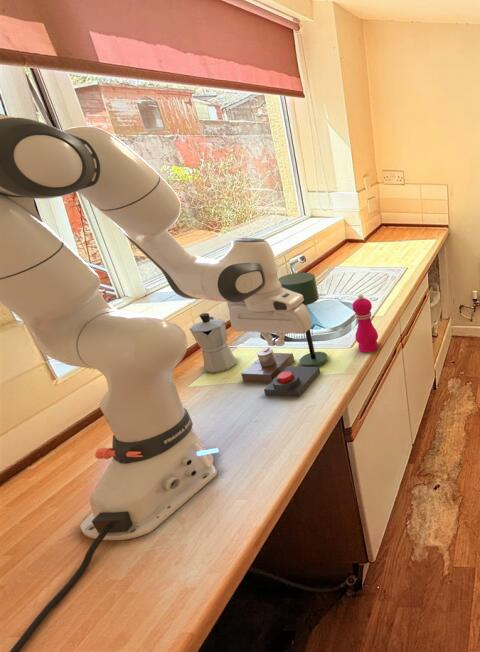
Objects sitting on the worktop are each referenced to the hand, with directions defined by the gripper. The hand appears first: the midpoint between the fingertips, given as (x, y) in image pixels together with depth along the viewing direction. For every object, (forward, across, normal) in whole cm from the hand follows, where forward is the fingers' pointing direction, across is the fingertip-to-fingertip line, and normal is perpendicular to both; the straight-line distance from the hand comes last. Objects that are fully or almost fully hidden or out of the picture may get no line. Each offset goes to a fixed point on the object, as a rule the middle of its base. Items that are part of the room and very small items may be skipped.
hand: (276, 344), depth 109 cm
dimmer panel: (+15, -11, +9) cm, 21 cm away
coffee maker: (+15, -29, +12) cm, 35 cm away
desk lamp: (+15, 0, +15) cm, 21 cm away
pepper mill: (+15, +14, +25) cm, 33 cm away
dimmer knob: (+12, -11, +9) cm, 19 cm away
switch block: (+15, 0, +3) cm, 15 cm away
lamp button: (+12, 0, 0) cm, 12 cm away
